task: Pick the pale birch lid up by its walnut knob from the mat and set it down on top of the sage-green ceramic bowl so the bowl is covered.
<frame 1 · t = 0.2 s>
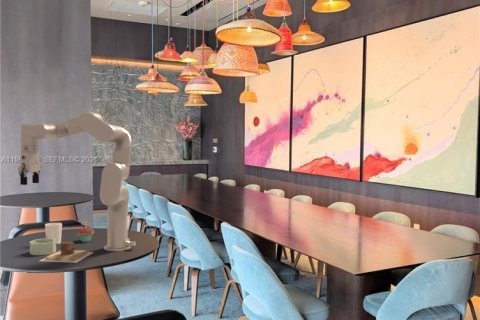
hand: (29, 183, 206), 31 cm above the table, tool pointing down, fingers open, 9 cm apart
white cup: (53, 243, 213), on the table
lid: (67, 256, 187), resting on mat
cupcake: (85, 241, 219), on the table
bowl: (43, 252, 194), on the table
mat: (67, 257, 187), on the table
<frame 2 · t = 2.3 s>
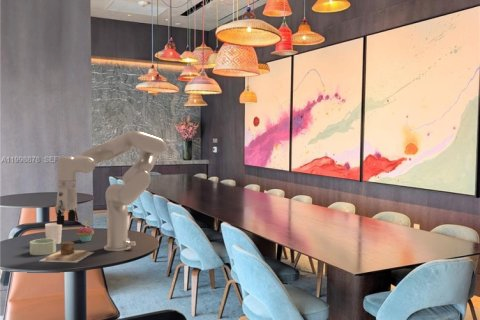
hand: (66, 222, 186), 16 cm above the table, tool pointing down, fingers open, 9 cm apart
nothing on the table moved.
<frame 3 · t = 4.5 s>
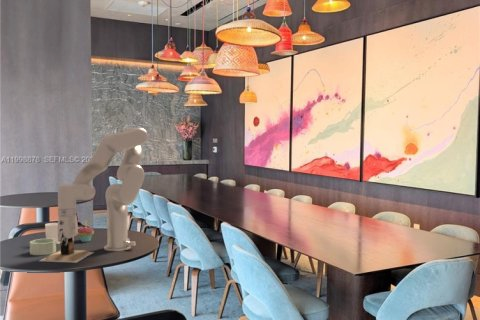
hand: (67, 252, 187), 2 cm above the table, tool pointing down, fingers closed on lid, 4 cm apart
lid: (67, 256, 187), resting on mat, touching gripper
everything else where it was.
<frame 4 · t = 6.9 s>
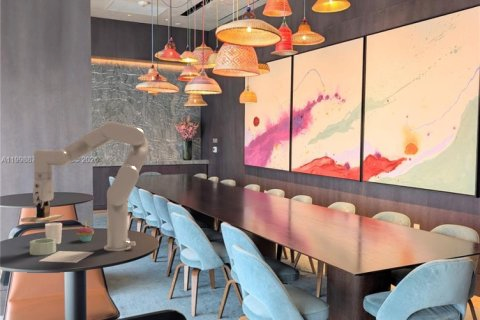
hand: (43, 215, 193), 18 cm above the table, tool pointing down, fingers closed on lid, 4 cm apart
lid: (43, 219, 193), point 16 cm above the table, touching gripper
everything else where it was.
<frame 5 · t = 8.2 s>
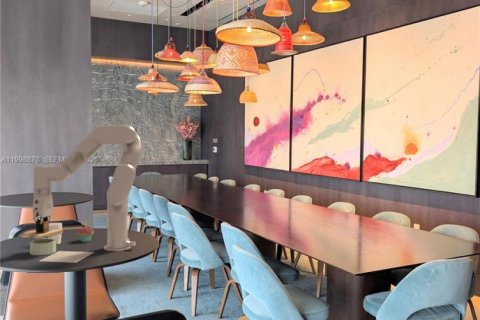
hand: (42, 230, 194), 10 cm above the table, tool pointing down, fingers closed on lid, 4 cm apart
lid: (42, 234, 194), point 8 cm above the table, touching gripper
everything else where it was.
when the fingers open (9 cm above the table, at t = 9.2 s): lid drops 1 cm, resting on bowl.
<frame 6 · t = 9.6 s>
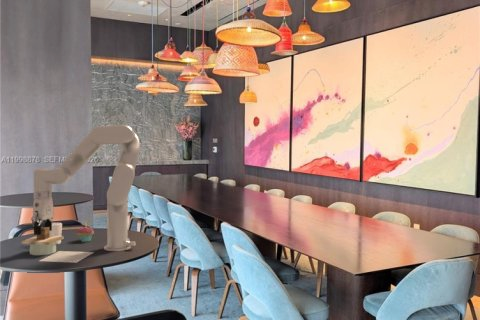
hand: (43, 232, 194), 10 cm above the table, tool pointing down, fingers open, 8 cm apart
lid: (43, 241, 194), point 5 cm above the table, touching bowl
everything else where it was.
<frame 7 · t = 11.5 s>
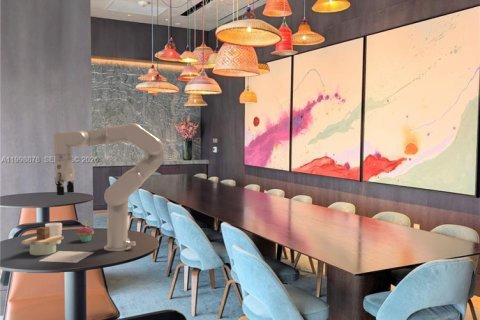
hand: (65, 193, 199), 27 cm above the table, tool pointing down, fingers open, 9 cm apart
nothing on the table moved.
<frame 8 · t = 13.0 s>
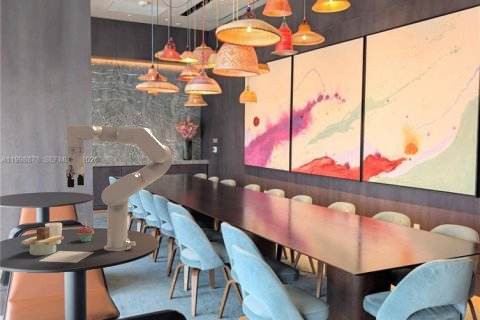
hand: (75, 186, 202), 30 cm above the table, tool pointing down, fingers open, 9 cm apart
nothing on the table moved.
at the end: lid 0.0 cm off-centre on the bowl, point 5.5 cm above the bowl's base; lid tilted 0°; the gripper is holding nothing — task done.
